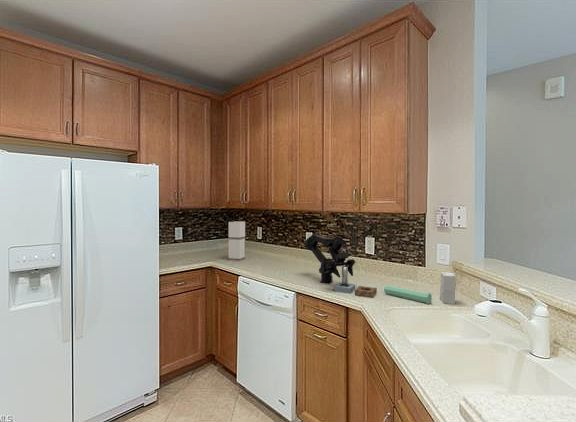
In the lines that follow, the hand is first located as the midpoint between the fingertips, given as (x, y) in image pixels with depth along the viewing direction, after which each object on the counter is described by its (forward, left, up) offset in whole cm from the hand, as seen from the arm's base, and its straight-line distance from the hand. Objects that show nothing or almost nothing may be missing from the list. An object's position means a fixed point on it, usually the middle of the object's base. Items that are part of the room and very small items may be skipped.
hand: (346, 276), depth 176 cm
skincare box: (+53, +7, -9) cm, 54 cm away
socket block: (-1, +1, -9) cm, 9 cm away
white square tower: (-118, +49, -9) cm, 128 cm away
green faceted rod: (+33, +3, -9) cm, 34 cm away
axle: (-1, +1, -9) cm, 9 cm away
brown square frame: (+12, -1, -9) cm, 15 cm away
